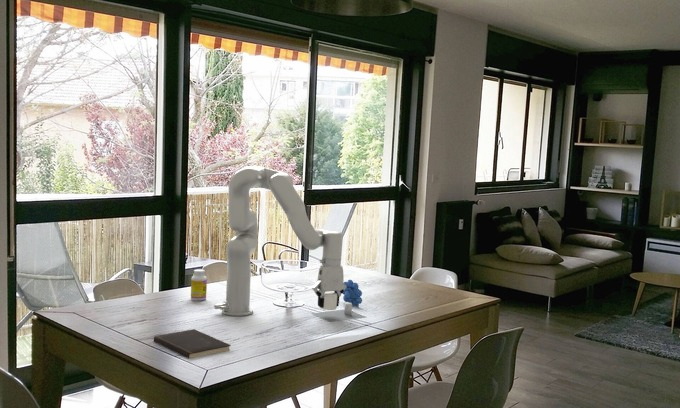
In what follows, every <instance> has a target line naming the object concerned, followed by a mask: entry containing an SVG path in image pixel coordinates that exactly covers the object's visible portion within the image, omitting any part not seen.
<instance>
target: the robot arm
mask: <svg viewBox="0 0 680 408" xmlns="http://www.w3.org/2000/svg"><path fill="white" fill-rule="evenodd" d="M228 184H229V185H228V226H229V228H230V230H232V231H233V232H234V237H232V238H230V240H229V241H228V243H227V244H226V249H225V253H226V291H225V294H226V295H225V300H223V302H222V303H217V304H216V303H215V304H214V305H213V306H214V309H215V310H220V311H221V313H222V314H224V315H226V316H233V317H236V316H237V317H243V316H249V315H251V314H253V313H254V309H253V308H252V307H250V304H251V303H250V301H251V299H250V298H251V280H252V279H251V275H252V273H251V272H252V271H251V270H252V269H251V268H252V267H251V265H252V264H251V255H252V254H253V253H255V251H256V250H257V247H258V218H257V214H256V212H255V210H253V209H252V208H251V196H250V189H253V188H256V187H257V188H258V187H259V188H261V189H266V190H270V192H271V194H272V196H274V198H275V200H276V201H277V203H278V205H279V206H280V208H281V209H282V210H283V212H284V214H285V215H286V218H287V220H288V222H289V224H290V226H291V229H292V230H293V232H294V234H295V236H296V237H297V239H298V240H299V241H300V243H301V245H302V246H303V247H304V248H306V249H307V250H311V251H313V250H316V249H318V248H320V247H322V257H321V259H320V260H319V263H320V267H319V269H318V275H317V279H316V281H317V282H315V284H314V285H313V287H312V288H311V290H312V291H313V292H314V294H315V295H316V296H317V306H318V307H319V308H320V307H321V308H323V307H324V298H323V296H324V294H325V292H335V293H337V307H339V303H340V297H341V296H342V295H343V294H342V293H343V291H344V290H345V289H346V287H347V286H346V285H345V284H344V282H345V281H344V268H343V265H341V264H342V256H343V255H342V253H343V252H342V251H343V238H344V235H343V233H342V232H341V231H337V230H325V229H320V228H314V226H313V225H312V223H311V221H310V219H309V218H308V215H307V212H306V205H305V203H304V201H303V199H302V197H301V196H300V195H299V193H298V191H297V190H296V188H295V187H294V179H293V177H292V176H291V175H290V174H288V173H286V172H284V171H279V170H274V169H271V168H267V167H264V166H259V165H251V166H249V165H248V166H246V167H243V168H240V169H239V170H238V171H236V172H235V173H234V174H233V175H232V177H231V178H230V181H229V183H228ZM321 308H320V309H321Z"/></svg>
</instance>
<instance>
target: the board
mask: <svg viewBox="0 0 680 408" xmlns="http://www.w3.org/2000/svg"><path fill="white" fill-rule="evenodd" d="M352 310H353V305H352V303H348V302H345V303H344V309H339V310H337V309H335V310H327V311H321V312H320V311H319V312H312V313H310V315H313V316H316V317H317V318H320V319H322V320H324V321H326V322H329V323H332V322H340V321H341V322H342V321H348V320H357V319H364V318H367V316H365V315H362V314H360V313H358V312H354V311H352Z"/></svg>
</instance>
